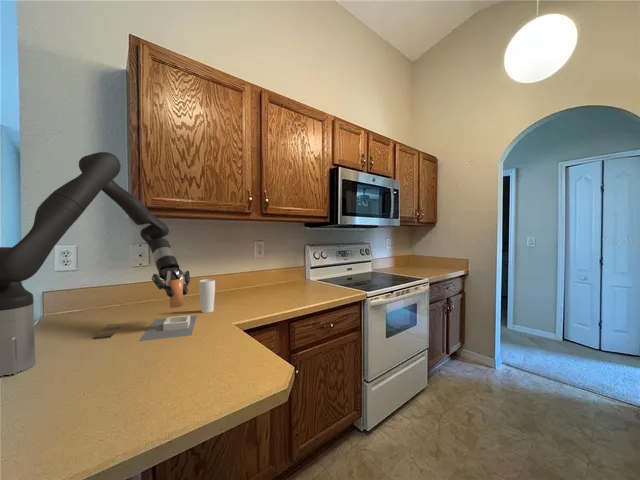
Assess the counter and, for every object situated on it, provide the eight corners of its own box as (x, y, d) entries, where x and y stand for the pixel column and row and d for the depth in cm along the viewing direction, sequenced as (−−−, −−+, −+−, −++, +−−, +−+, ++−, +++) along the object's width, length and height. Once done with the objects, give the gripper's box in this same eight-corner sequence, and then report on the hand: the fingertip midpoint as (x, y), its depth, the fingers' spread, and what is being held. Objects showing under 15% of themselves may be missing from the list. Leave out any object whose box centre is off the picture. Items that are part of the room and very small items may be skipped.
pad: (140, 334, 102) (139, 332, 102) (93, 339, 97) (93, 337, 97) (149, 322, 115) (149, 320, 115) (108, 326, 110) (108, 324, 110)
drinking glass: (196, 313, 126) (195, 281, 126) (208, 310, 132) (208, 278, 132) (206, 316, 123) (206, 282, 123) (218, 312, 129) (218, 279, 129)
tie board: (191, 338, 98) (191, 328, 98) (138, 344, 93) (138, 333, 93) (196, 317, 121) (196, 309, 121) (154, 321, 116) (154, 313, 115)
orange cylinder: (182, 307, 106) (182, 280, 105) (168, 308, 104) (168, 281, 104) (183, 304, 110) (183, 278, 110) (170, 305, 108) (170, 279, 108)
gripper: (148, 255, 106) (161, 291, 98) (186, 253, 117) (200, 286, 109) (143, 268, 110) (155, 304, 102) (180, 265, 120) (194, 297, 113)
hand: (178, 294), depth 106 cm, fingers closed on orange cylinder, 4 cm apart
